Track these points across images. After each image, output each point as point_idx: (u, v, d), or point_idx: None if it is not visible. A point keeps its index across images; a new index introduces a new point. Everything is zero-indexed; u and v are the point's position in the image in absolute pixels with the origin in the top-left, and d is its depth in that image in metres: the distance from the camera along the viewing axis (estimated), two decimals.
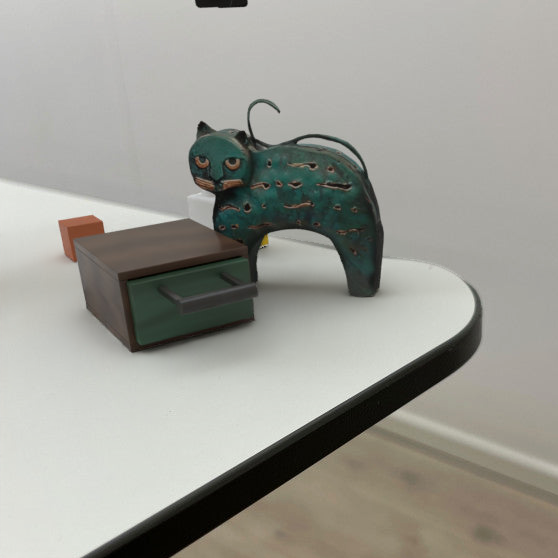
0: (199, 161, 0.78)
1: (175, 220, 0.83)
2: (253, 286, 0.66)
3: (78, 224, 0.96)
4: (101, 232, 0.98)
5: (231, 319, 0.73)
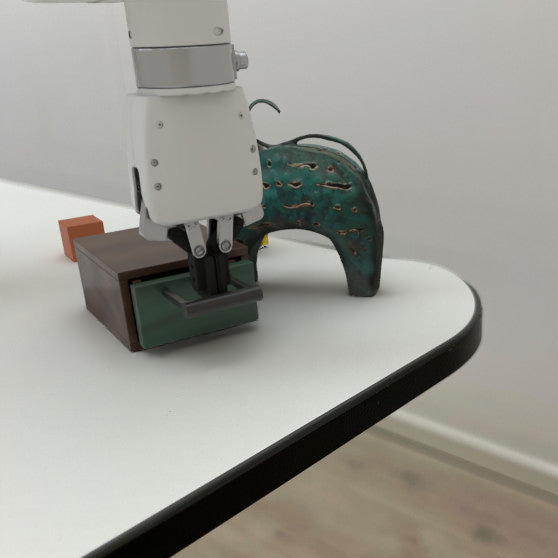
0: None
1: None
2: (259, 290, 0.66)
3: (78, 224, 0.96)
4: (101, 232, 0.98)
5: (236, 322, 0.72)
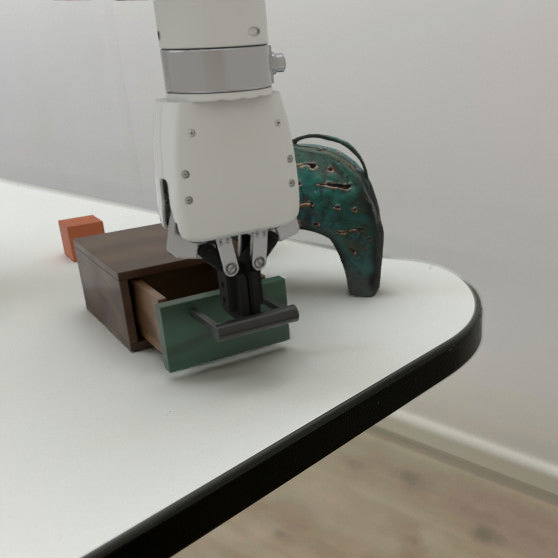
0: None
1: None
2: (294, 310, 0.61)
3: (78, 224, 0.96)
4: (101, 232, 0.98)
5: (266, 343, 0.68)
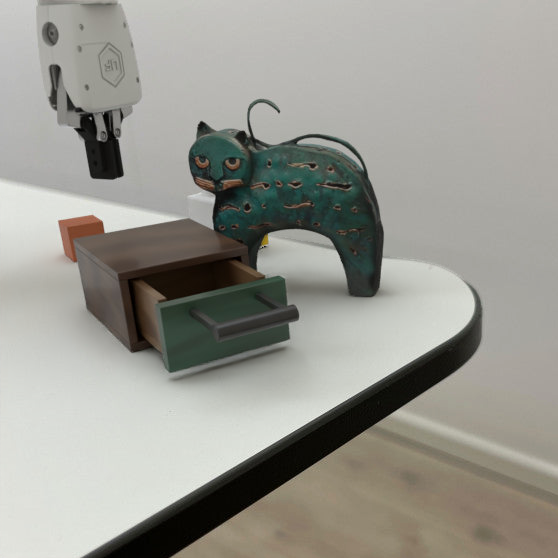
0: (199, 161, 0.78)
1: (175, 220, 0.83)
2: (294, 310, 0.61)
3: (78, 224, 0.96)
4: (101, 232, 0.98)
5: (266, 343, 0.68)
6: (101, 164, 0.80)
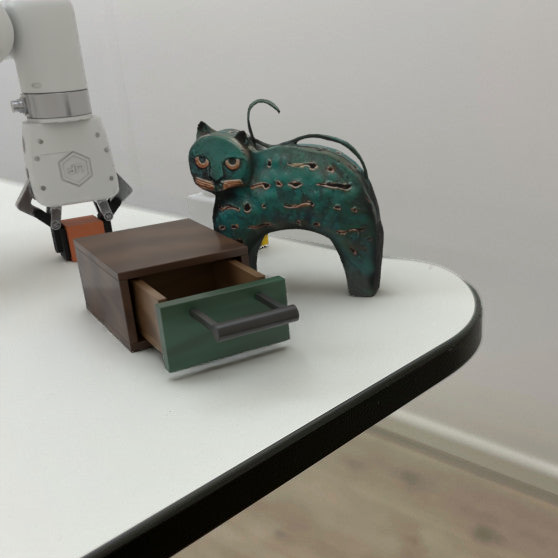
0: (198, 161, 0.78)
1: (175, 220, 0.83)
2: (294, 310, 0.61)
3: (78, 224, 0.96)
4: (101, 232, 0.98)
5: (266, 343, 0.68)
6: (56, 247, 0.97)
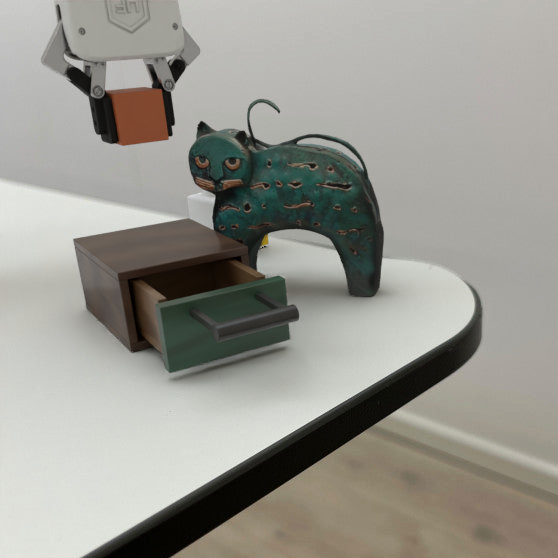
0: (199, 161, 0.78)
1: (175, 220, 0.83)
2: (294, 310, 0.61)
3: (128, 92, 0.69)
4: (159, 105, 0.70)
5: (266, 343, 0.68)
6: (98, 125, 0.69)
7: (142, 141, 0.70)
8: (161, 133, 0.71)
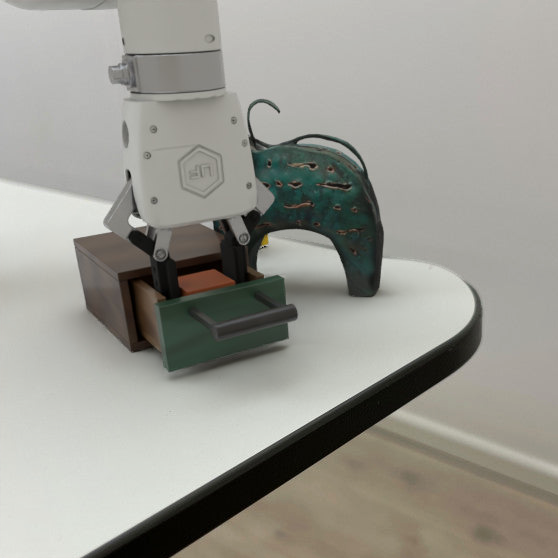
0: None
1: None
2: (293, 309, 0.61)
3: (201, 286, 0.66)
4: None
5: (265, 342, 0.68)
6: (159, 286, 0.65)
7: None
8: None
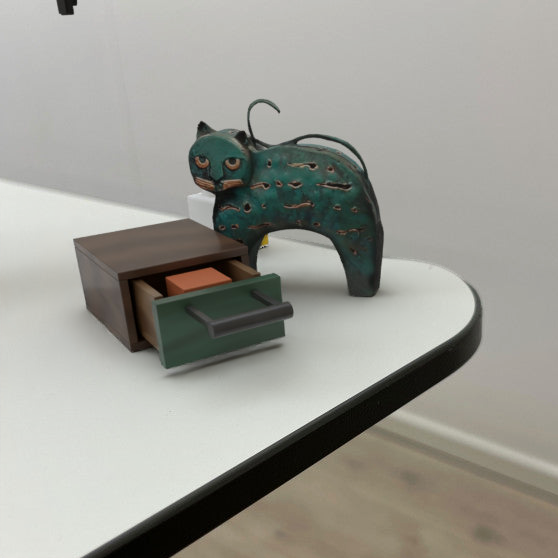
0: (199, 161, 0.78)
1: (175, 220, 0.83)
2: (289, 307, 0.62)
3: (198, 284, 0.66)
4: None
5: (261, 339, 0.68)
6: None
7: None
8: None
